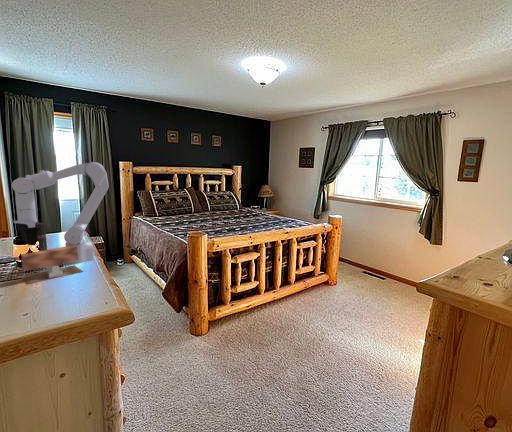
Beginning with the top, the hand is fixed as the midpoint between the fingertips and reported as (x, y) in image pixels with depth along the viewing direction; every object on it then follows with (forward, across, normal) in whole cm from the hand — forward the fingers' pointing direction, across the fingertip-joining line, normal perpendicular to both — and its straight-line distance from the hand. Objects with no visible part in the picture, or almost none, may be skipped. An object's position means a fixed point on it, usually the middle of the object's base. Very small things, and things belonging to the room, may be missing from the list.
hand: (29, 243), depth 109 cm
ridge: (+9, +17, +3) cm, 19 cm away
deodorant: (+11, -19, +6) cm, 23 cm away
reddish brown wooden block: (+5, +17, +3) cm, 18 cm away
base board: (+10, +17, +3) cm, 20 cm away
